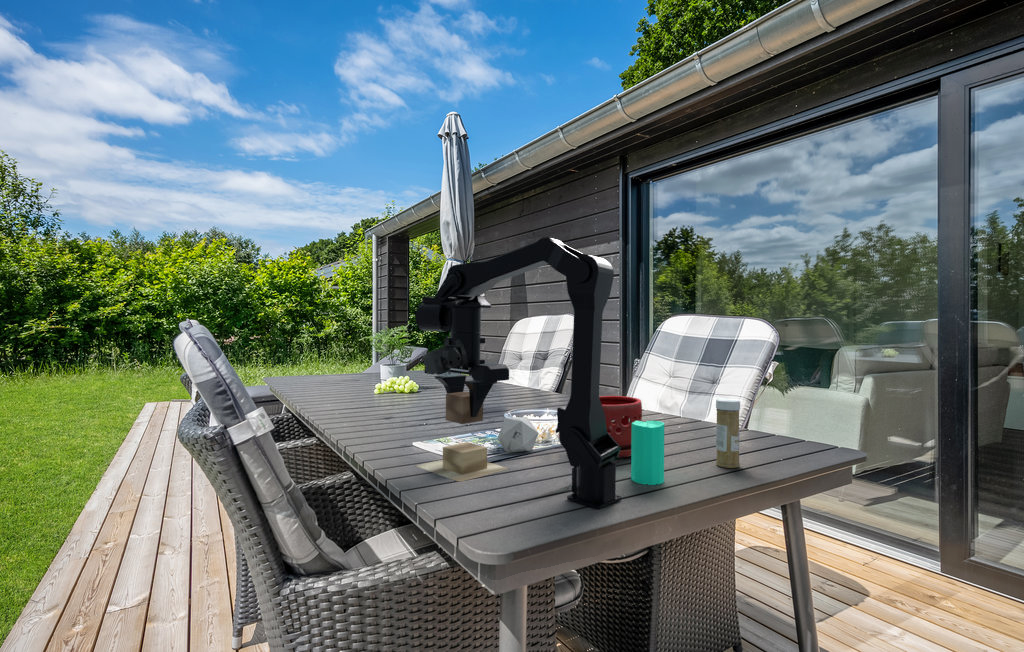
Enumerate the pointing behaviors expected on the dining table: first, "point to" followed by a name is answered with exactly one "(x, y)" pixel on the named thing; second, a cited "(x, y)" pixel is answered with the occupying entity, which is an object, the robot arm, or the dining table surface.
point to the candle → (647, 452)
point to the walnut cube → (460, 408)
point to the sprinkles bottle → (727, 432)
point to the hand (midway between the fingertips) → (464, 414)
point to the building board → (438, 469)
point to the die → (517, 434)
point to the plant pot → (621, 419)
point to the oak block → (465, 458)
